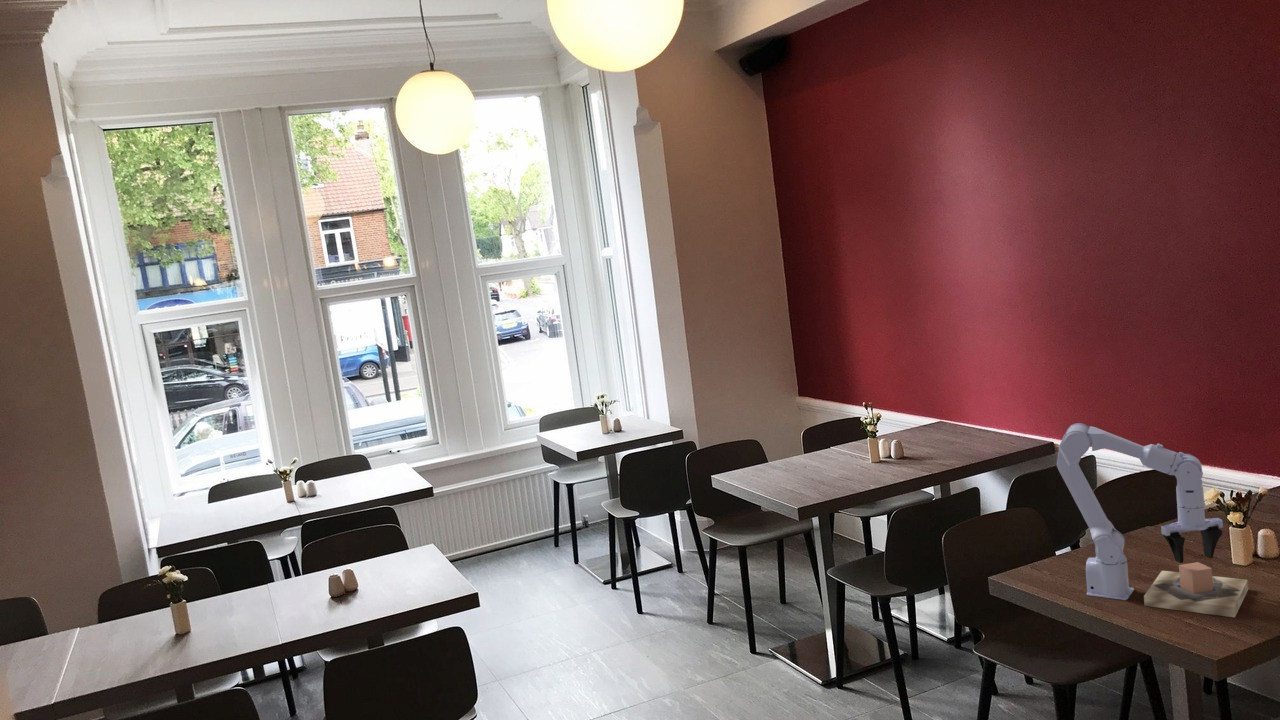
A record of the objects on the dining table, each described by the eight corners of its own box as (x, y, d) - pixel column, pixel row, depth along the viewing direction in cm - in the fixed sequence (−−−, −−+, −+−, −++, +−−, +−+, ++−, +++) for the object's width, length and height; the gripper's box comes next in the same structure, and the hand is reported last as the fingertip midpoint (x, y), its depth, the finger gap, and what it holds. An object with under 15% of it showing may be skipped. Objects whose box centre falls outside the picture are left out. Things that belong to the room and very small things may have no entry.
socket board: (1144, 605, 234) (1143, 596, 233) (1162, 579, 248) (1161, 570, 248) (1234, 617, 221) (1234, 607, 221) (1248, 589, 235) (1247, 579, 235)
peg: (1194, 603, 232) (1192, 571, 231) (1180, 596, 237) (1178, 565, 236) (1213, 600, 232) (1211, 568, 231) (1199, 593, 237) (1198, 562, 236)
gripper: (1172, 513, 228) (1176, 568, 229) (1230, 505, 229) (1233, 560, 230) (1154, 506, 235) (1158, 559, 236) (1210, 498, 236) (1213, 551, 237)
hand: (1194, 559), depth 234 cm, fingers open, 7 cm apart
